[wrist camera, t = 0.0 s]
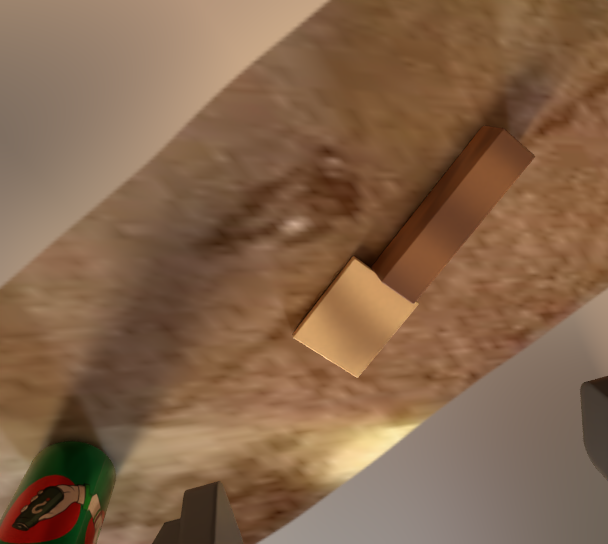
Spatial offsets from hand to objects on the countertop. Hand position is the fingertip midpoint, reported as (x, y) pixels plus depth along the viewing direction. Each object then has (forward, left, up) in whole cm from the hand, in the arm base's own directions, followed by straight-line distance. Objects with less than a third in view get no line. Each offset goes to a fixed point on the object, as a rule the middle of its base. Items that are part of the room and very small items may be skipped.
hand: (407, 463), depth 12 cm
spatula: (+3, +6, -20) cm, 21 cm away
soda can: (+11, -17, -20) cm, 29 cm away
